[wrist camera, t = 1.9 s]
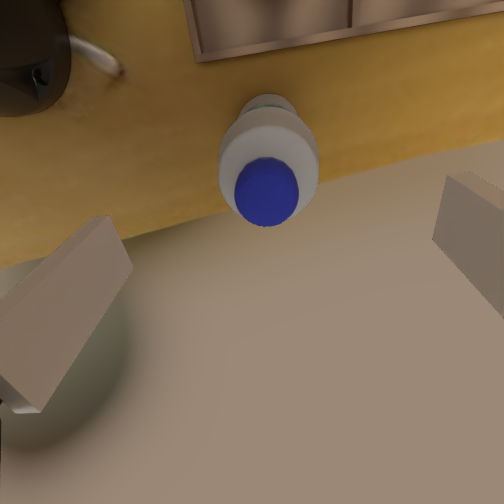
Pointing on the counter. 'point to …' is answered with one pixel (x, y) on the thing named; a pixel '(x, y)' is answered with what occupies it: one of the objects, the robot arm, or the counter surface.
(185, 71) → the counter surface
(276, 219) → the bottle
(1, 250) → the counter surface
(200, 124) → the counter surface
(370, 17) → the caddy
